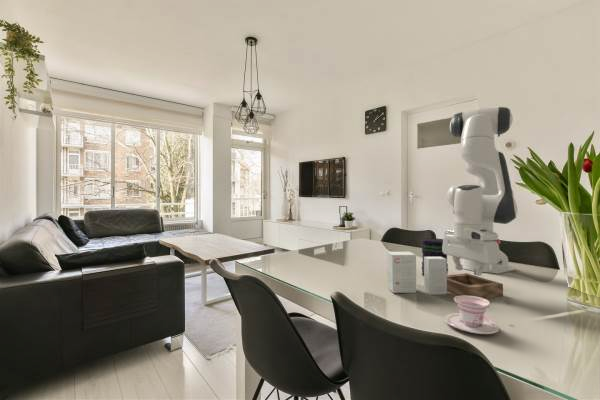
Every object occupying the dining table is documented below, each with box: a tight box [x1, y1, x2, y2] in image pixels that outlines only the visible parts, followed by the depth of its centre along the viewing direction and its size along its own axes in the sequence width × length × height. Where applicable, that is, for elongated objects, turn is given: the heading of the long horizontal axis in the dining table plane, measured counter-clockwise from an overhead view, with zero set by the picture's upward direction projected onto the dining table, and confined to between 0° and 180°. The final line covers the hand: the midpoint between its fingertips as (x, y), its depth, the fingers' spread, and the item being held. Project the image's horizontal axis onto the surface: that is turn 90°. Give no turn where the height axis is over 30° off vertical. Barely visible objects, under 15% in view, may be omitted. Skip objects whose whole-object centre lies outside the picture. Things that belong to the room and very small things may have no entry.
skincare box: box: [423, 256, 448, 296], centre depth 98 cm, size 6×4×12 cm
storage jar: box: [421, 237, 449, 277], centre depth 120 cm, size 10×10×15 cm
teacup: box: [444, 295, 500, 335], centre depth 74 cm, size 12×12×6 cm
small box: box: [387, 251, 417, 294], centre depth 101 cm, size 8×6×13 cm
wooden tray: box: [447, 272, 504, 299], centre depth 99 cm, size 14×14×4 cm
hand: (468, 272), depth 99 cm, fingers open, 6 cm apart
